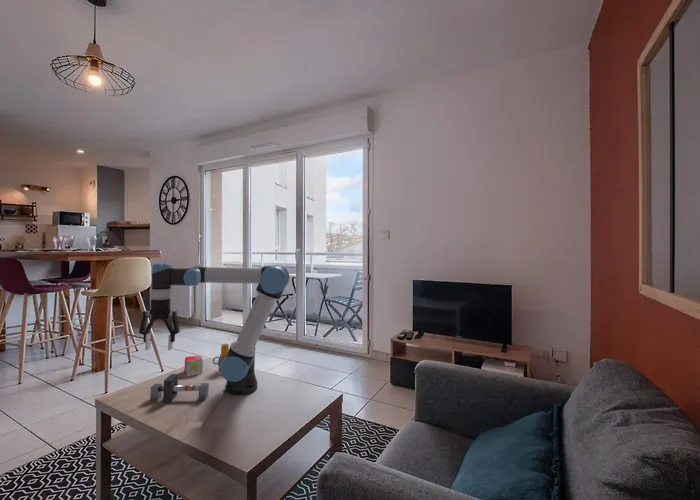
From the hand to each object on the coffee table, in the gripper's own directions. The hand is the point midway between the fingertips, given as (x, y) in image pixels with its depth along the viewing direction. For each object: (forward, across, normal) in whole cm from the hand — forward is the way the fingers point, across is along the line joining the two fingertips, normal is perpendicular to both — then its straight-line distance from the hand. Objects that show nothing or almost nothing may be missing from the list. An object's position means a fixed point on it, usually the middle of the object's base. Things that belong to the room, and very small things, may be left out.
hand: (159, 349), depth 145 cm
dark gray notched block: (+22, -6, 0) cm, 23 cm away
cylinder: (+24, -20, -36) cm, 47 cm away
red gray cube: (+24, -4, -35) cm, 42 cm away
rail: (+23, -10, 0) cm, 25 cm away
